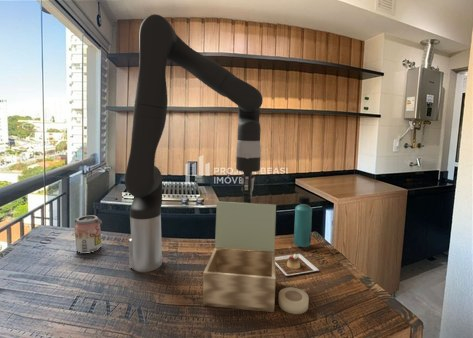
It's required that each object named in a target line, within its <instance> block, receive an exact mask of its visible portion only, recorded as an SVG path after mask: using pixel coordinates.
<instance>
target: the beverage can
mask: <svg viewBox="0 0 473 338" xmlns="http://www.w3.org/2000/svg"><path fill="white" fill-rule="evenodd" d="M74 223H76V224H75V225H74V237H75V248H76V249H75V250H76V252H77V251H78V252H77V253H79V252H92V251H96V250H97V249H99V248H100V247H102V235H101V232H102V231H101V224H102V223H103V221H102V219H100V218H99V217H98V216H96V215H94V214H93V215H82V216H80V217H78V218H74ZM100 249H101V248H100ZM100 249H99V250H100ZM96 252H97V251H96Z"/></svg>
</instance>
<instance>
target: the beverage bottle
mask: <svg viewBox="0 0 473 338" xmlns="http://www.w3.org/2000/svg"><path fill="white" fill-rule="evenodd" d="M310 200H311V199H310V197H309V196H305V195H300V196H299V197H298V203H299V204H298V205H296V206H295V208H294V209H295V210H294V213H295V214H294V225H293V227H294V229H293V230H294V231H293V244H294V245H295V246H297V247H299V248H300V247H301V248H307V247H310V246H311V244H312V242H311V240H312V228H313V227H312V223H313V222H312V218H313V217H312V216H313V208H312V207H311V206H310V205H308V204H311V203H310Z"/></svg>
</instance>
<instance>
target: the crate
mask: <svg viewBox="0 0 473 338" xmlns="http://www.w3.org/2000/svg"><path fill="white" fill-rule="evenodd" d="M275 254H276V253H275V252H271V251H257V250H243V249H229V248H215V247H214V248H213V250H212V253H211V255H210V258H209V259H208V262H207V264H206V267H205V268H204V271H203V276H202V277H203V279H202V280H203V281H202V282H203V288H202V289H203V291H202V293H203V294H202V296H203V297H202V298H203V300H202V302H203V306H207V307H217V308H225V309H226V308H228V309H237V310H247V311H256V312H257V311H258V312H268V313H275V298H276V265H275V262H276V261H275V257H276V255H275Z"/></svg>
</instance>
